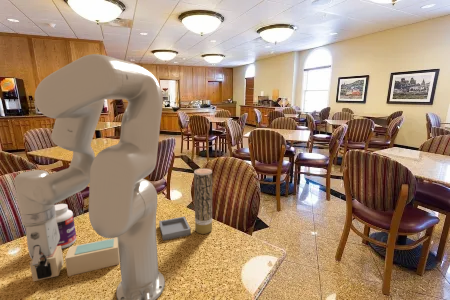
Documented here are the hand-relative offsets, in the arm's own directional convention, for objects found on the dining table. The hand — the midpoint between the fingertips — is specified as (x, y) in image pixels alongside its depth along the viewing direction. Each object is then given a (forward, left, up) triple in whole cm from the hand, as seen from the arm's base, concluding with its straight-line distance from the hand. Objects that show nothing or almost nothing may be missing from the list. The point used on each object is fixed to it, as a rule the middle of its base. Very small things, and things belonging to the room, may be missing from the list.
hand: (48, 268), depth 69 cm
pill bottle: (+16, 0, -2) cm, 16 cm away
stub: (0, 0, -1) cm, 1 cm away
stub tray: (+10, -39, -2) cm, 41 cm away
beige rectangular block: (0, -12, -2) cm, 12 cm away
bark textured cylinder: (+6, -50, -2) cm, 51 cm away
